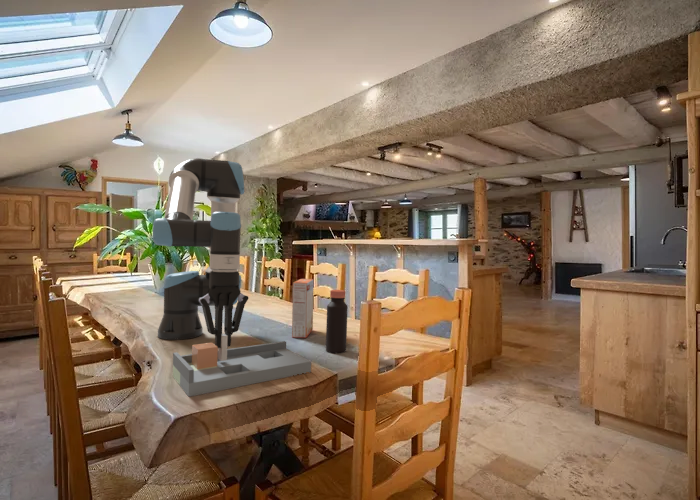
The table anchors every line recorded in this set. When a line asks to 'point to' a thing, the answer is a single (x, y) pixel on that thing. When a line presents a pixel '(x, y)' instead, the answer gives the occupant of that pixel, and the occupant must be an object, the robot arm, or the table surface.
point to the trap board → (239, 368)
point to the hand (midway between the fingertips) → (222, 359)
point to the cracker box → (302, 308)
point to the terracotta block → (204, 355)
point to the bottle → (336, 323)
